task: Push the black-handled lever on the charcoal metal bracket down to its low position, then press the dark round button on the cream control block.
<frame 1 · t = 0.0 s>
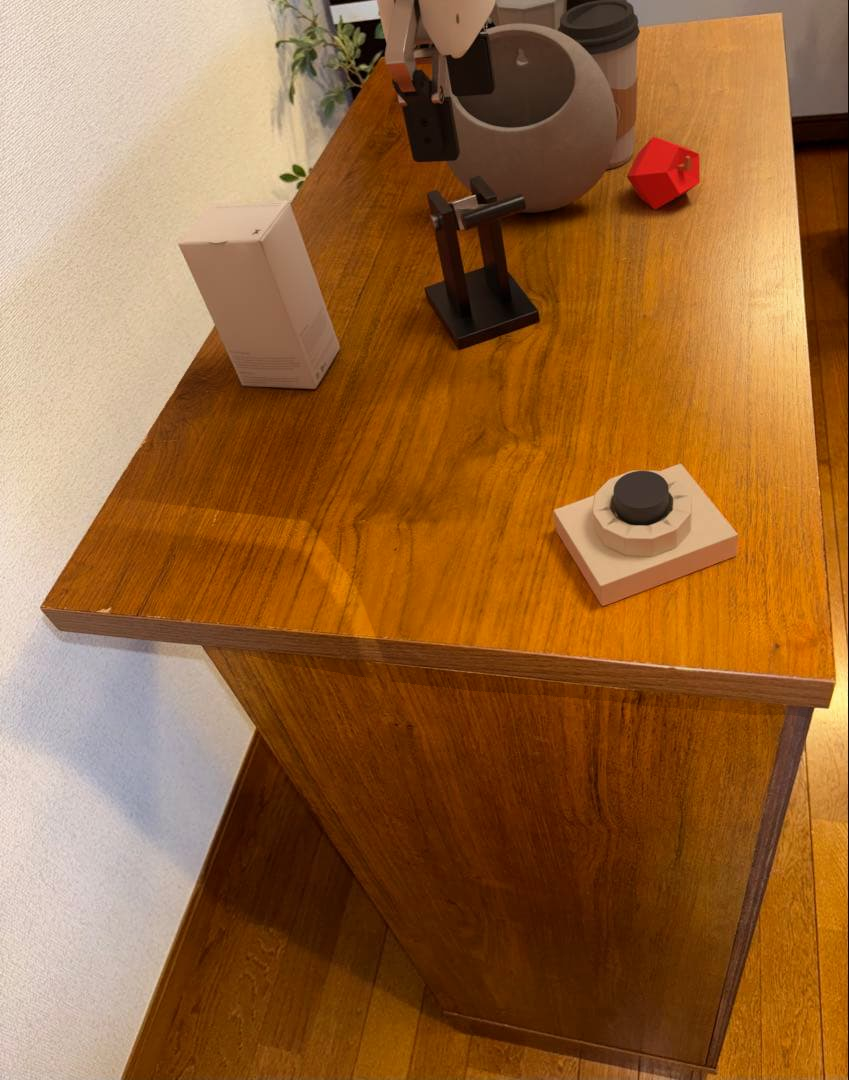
hand: (456, 125, 68), 23 cm above the table, tool pointing down, fingers open, 9 cm apart
coffee maker: (554, 123, 117), on the table
control block: (643, 543, 69), on the table
planter: (533, 212, 104), on the table
coffee cup: (605, 158, 109), on the table
bracket: (481, 309, 93), on the table
lever: (476, 212, 82), point 12 cm above the table, hinge at 25.0°
apple: (664, 200, 101), on the table
cosmetic box: (290, 371, 92), on the table
button: (641, 498, 66), point 4 cm above the table, slide at 0.1 cm
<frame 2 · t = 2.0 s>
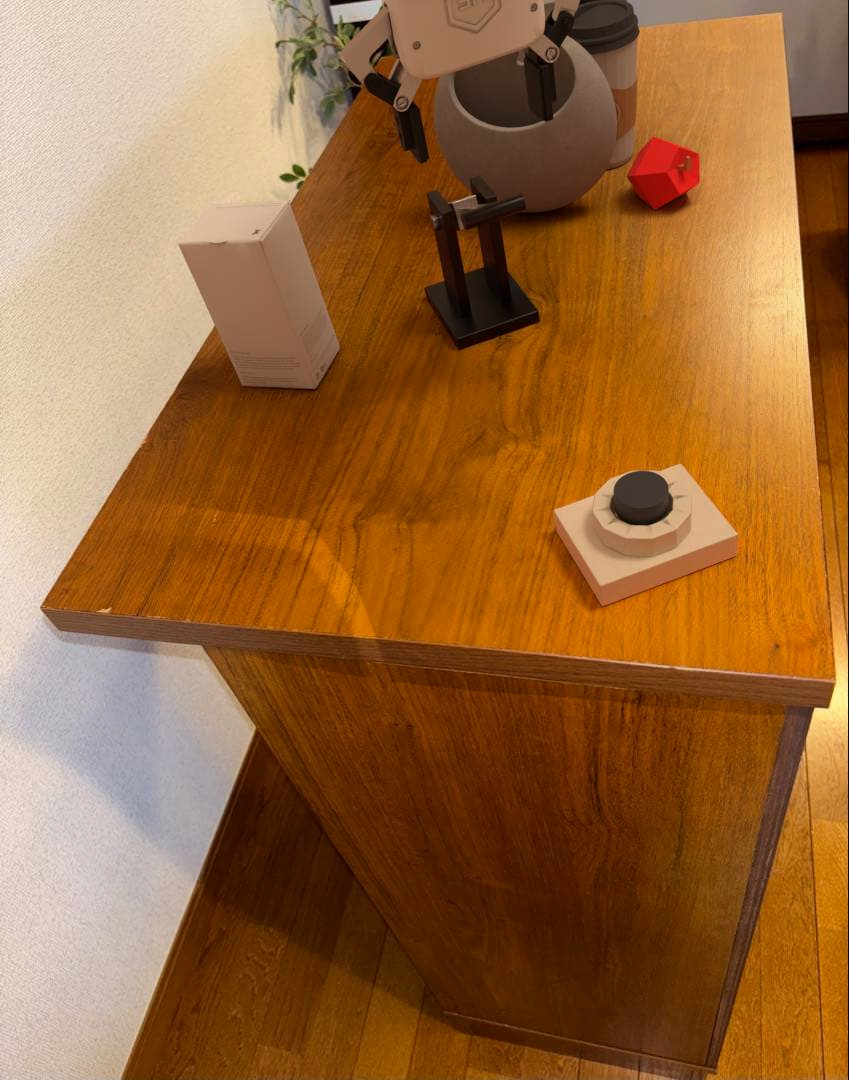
hand: (480, 135, 72), 20 cm above the table, tool pointing down, fingers open, 9 cm apart
nothing on the table moved.
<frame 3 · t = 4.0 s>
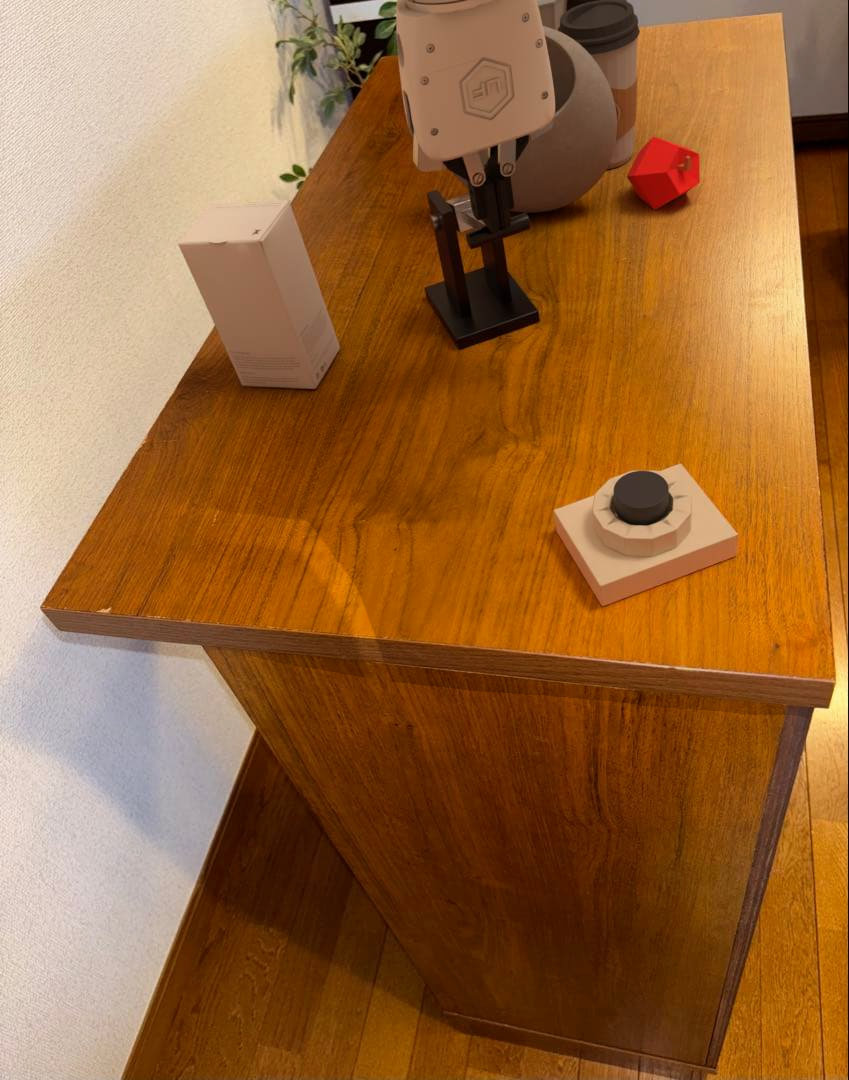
hand: (494, 221, 77), 14 cm above the table, tool pointing down, fingers closed
lever: (479, 220, 82), point 11 cm above the table, hinge at 16.2°, touching gripper
everything else where it was.
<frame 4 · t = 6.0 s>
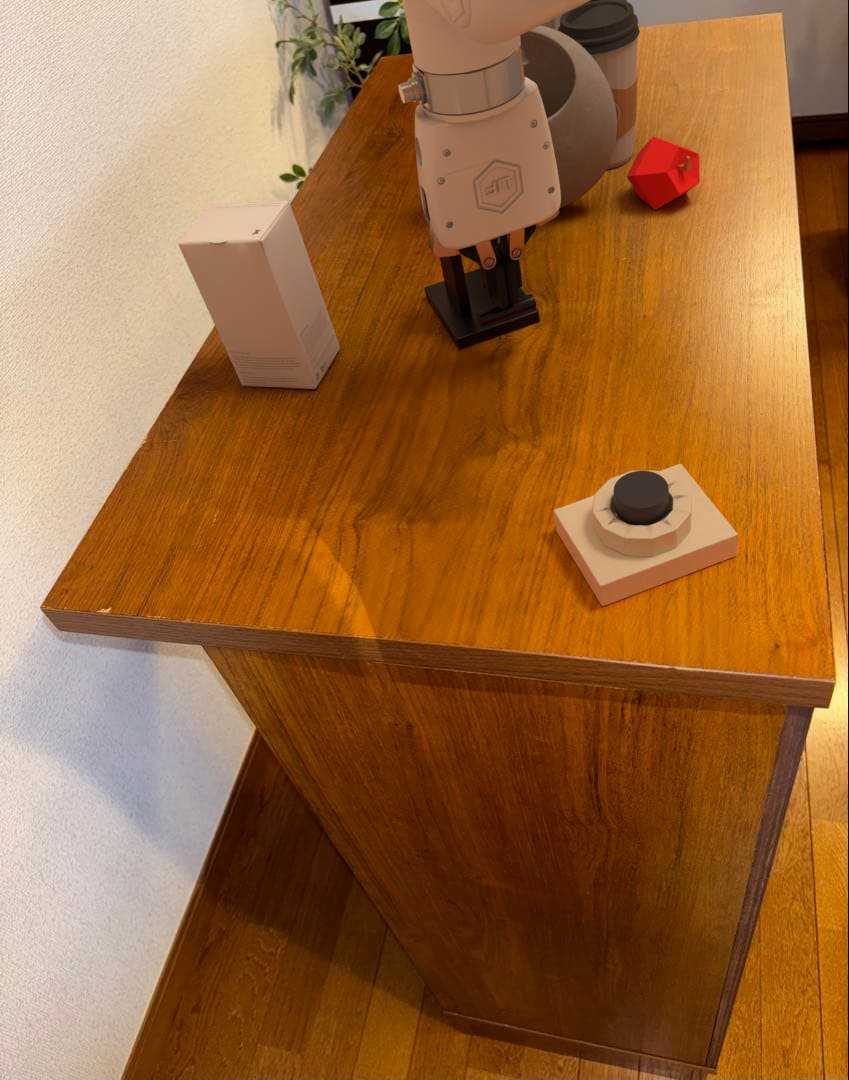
hand: (504, 298, 83), 6 cm above the table, tool pointing down, fingers closed
lever: (483, 257, 85), point 8 cm above the table, hinge at -31.6°, touching gripper
everything else where it was.
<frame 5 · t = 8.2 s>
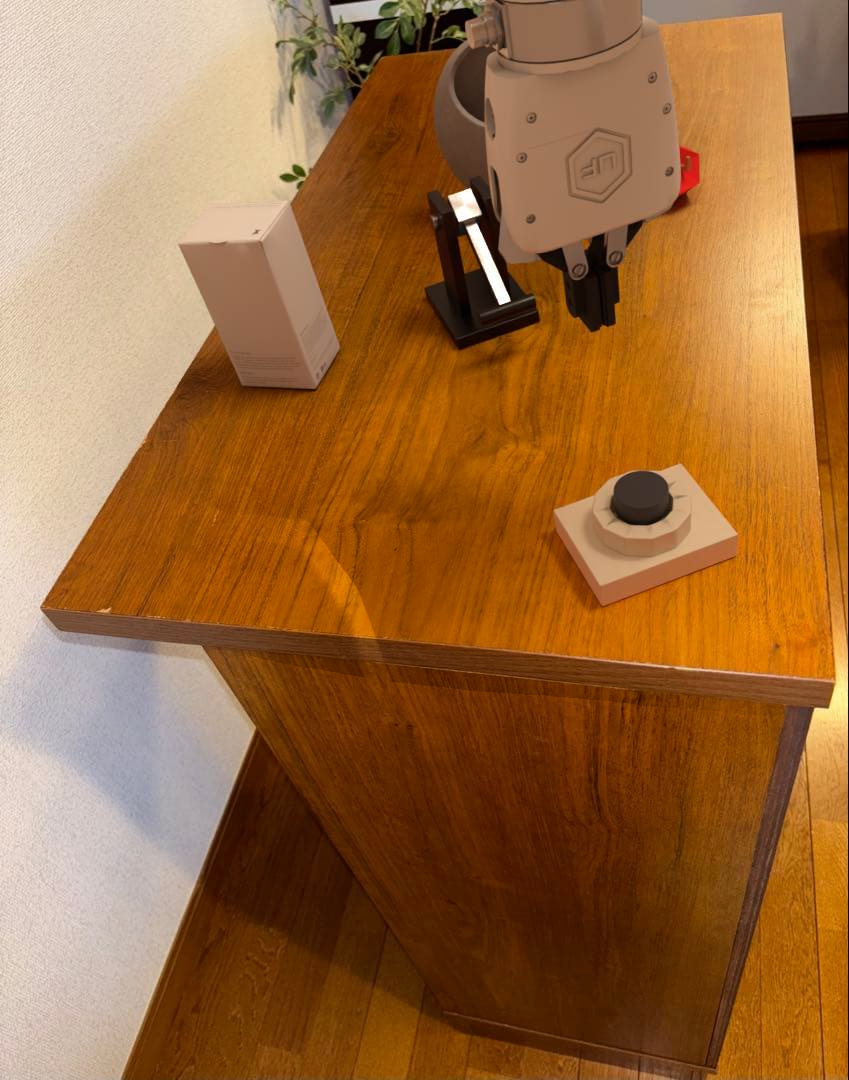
hand: (594, 317, 63), 15 cm above the table, tool pointing down, fingers closed
lever: (483, 257, 85), point 8 cm above the table, hinge at -30.8°
everything else where it was.
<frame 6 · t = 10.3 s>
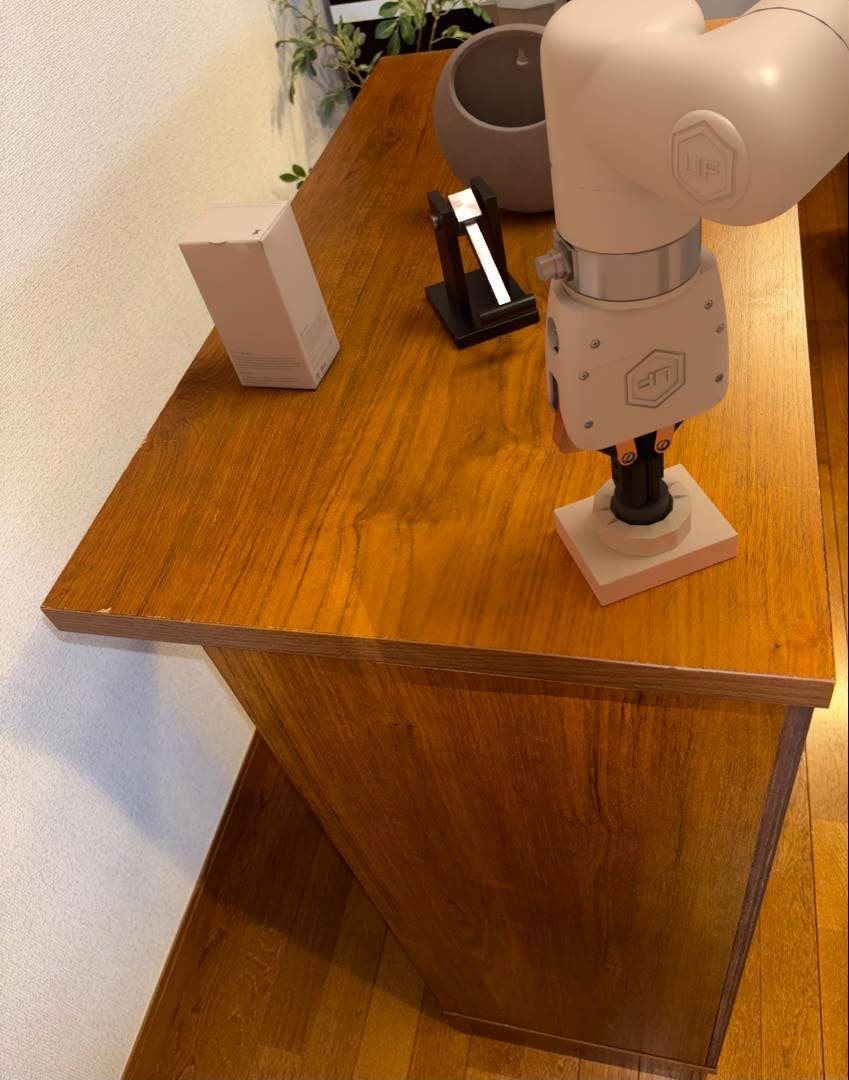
hand: (638, 489, 66), 5 cm above the table, tool pointing down, fingers closed
button: (641, 500, 66), point 4 cm above the table, slide at -0.1 cm, touching gripper
everything else where it was.
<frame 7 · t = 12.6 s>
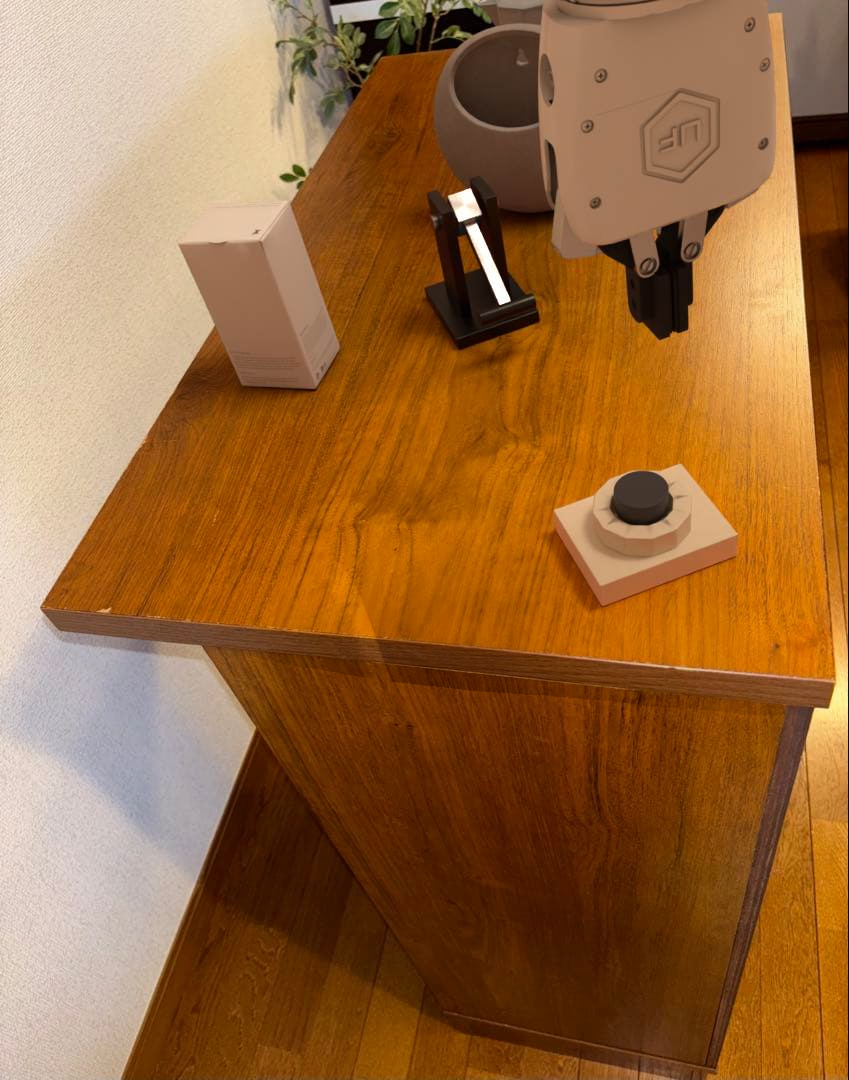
hand: (661, 322, 53), 20 cm above the table, tool pointing down, fingers closed
button: (641, 498, 66), point 4 cm above the table, slide at 0.1 cm
everything else where it was.
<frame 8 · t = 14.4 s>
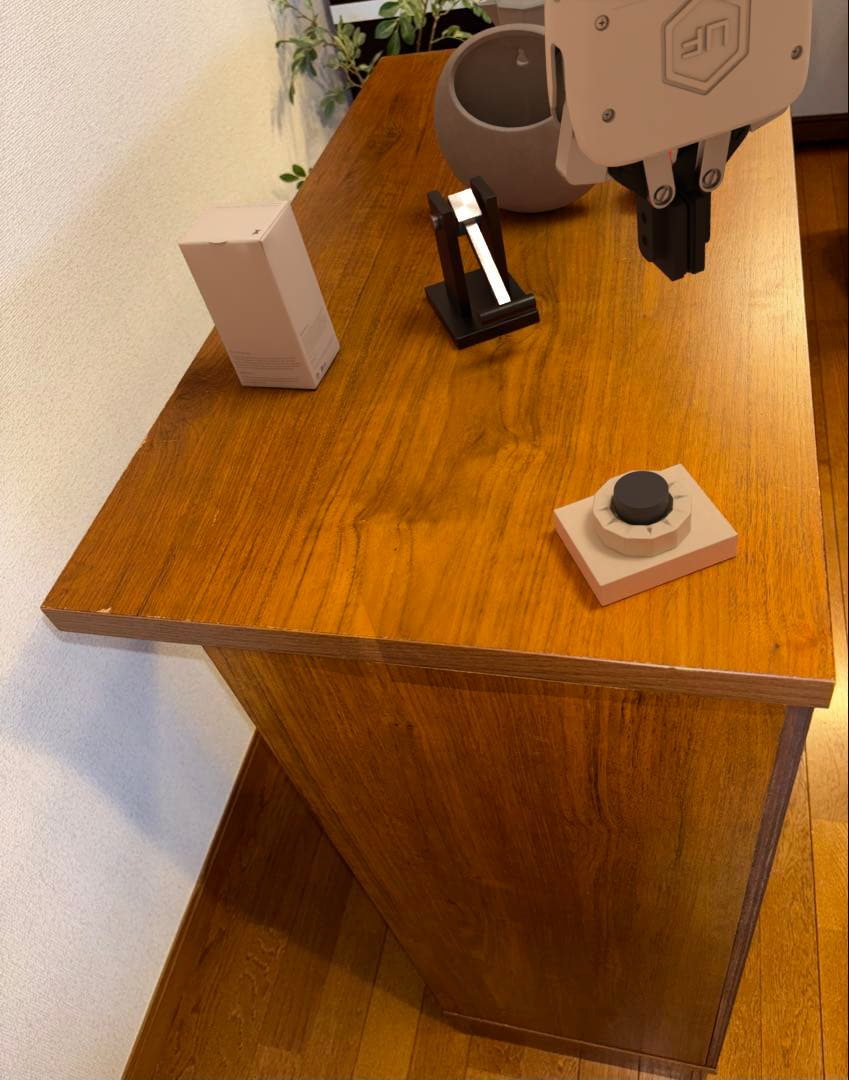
hand: (673, 263, 48), 25 cm above the table, tool pointing down, fingers closed
nothing on the table moved.
at the end: lever at -31° (first picture: +25°); button pushed in 1.1 cm at the most during the clip, back to where it started at the end; button slide at 0.1 cm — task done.
